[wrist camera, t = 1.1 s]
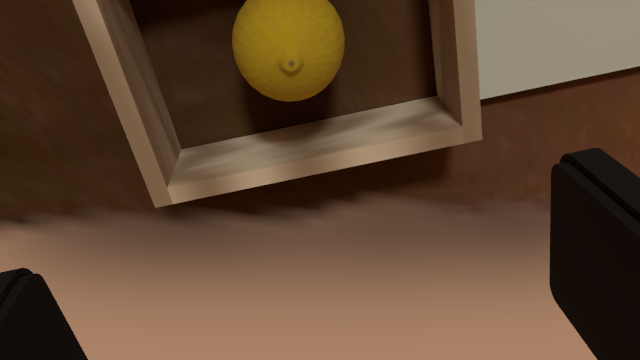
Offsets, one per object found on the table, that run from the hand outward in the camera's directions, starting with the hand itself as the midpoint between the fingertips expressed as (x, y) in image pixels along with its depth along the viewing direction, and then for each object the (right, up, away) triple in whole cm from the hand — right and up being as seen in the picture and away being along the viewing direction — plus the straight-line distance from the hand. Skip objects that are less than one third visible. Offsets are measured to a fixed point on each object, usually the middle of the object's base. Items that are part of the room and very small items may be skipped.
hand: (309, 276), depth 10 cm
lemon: (-2, +11, +20) cm, 23 cm away
